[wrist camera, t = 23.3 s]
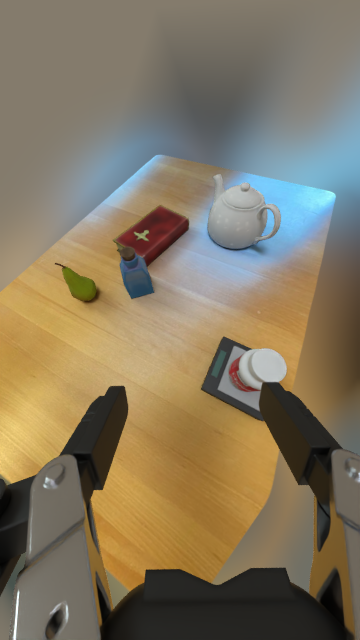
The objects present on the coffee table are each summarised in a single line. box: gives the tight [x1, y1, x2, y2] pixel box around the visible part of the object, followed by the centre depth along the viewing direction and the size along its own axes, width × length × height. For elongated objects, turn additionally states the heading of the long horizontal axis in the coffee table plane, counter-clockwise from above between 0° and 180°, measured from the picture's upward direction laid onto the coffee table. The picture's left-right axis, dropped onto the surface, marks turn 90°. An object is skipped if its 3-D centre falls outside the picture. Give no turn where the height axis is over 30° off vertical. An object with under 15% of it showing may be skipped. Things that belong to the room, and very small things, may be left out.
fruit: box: [55, 263, 97, 301], centre depth 40 cm, size 6×6×12 cm
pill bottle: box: [228, 348, 287, 392], centre depth 28 cm, size 6×6×11 cm
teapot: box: [208, 174, 281, 249], centre depth 48 cm, size 19×18×14 cm
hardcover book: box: [113, 205, 189, 266], centre depth 52 cm, size 12×21×4 cm, turn 142°
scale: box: [201, 337, 264, 421], centre depth 34 cm, size 12×12×3 cm
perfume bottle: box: [120, 247, 154, 299], centre depth 41 cm, size 6×6×12 cm
